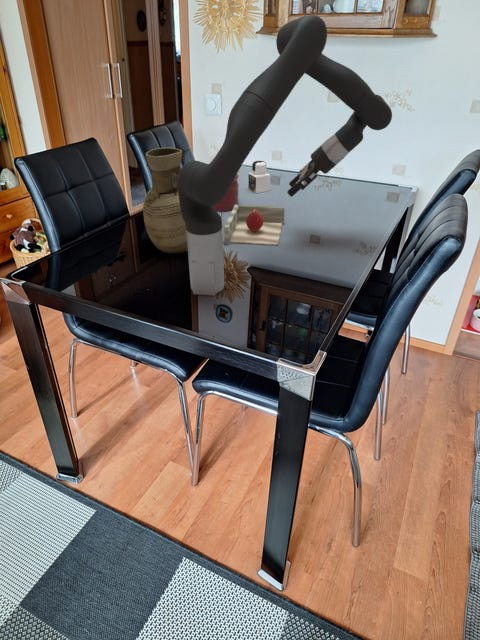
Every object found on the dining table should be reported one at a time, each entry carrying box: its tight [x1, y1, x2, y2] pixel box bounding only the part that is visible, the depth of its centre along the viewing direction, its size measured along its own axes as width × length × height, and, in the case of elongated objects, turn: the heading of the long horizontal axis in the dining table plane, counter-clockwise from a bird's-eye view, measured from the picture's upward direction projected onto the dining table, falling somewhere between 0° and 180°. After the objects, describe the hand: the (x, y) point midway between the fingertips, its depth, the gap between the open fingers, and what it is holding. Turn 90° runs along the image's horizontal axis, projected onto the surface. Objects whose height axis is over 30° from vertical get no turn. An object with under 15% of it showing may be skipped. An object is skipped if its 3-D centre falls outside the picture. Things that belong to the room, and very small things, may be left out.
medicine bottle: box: [248, 160, 271, 194], centre depth 186 cm, size 7×7×12 cm
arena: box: [223, 204, 285, 246], centre depth 148 cm, size 21×18×6 cm
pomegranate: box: [246, 209, 263, 232], centre depth 147 cm, size 6×6×8 cm
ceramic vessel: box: [142, 147, 188, 254], centre depth 134 cm, size 19×21×30 cm
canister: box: [213, 173, 240, 212], centre depth 168 cm, size 13×13×18 cm
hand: (289, 190), depth 139 cm, fingers open, 8 cm apart
